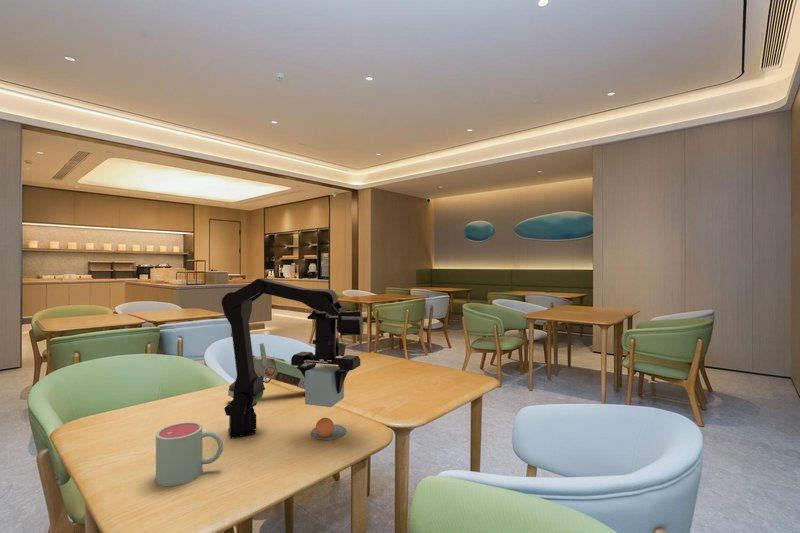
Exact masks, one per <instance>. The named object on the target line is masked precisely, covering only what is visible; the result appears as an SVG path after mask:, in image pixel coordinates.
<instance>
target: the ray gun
mask: <svg viewBox="0 0 800 533" xmlns="http://www.w3.org/2000/svg"><path fill="white" fill-rule="evenodd" d="M259 348H260V349H259V351H260V356H257V355H253V361H254V369H255V372H256V374H257V375H258V377H260V376H263V379H264V380H263V384H269V383H270V382H271V381H272V380H274V381H277V382H281V383H283V384H288V385H290V386H294V387H297V388H299V389H302V390H305V377H304V376H303V374H302V372H301V371H300V369H297V366H293V365H291V360H286V359H284V358H279V357H276V356H270V355H267V354H266V348H265V344H264V342H263V343H262V342H261V343H259ZM267 379H268V380H267ZM234 385H235V381H234V382H232V383H231V384H230V385H229V386H228V390H227V396H229V397H230V398H232V399H233V391H234Z"/></svg>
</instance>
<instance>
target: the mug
mask: <svg viewBox="0 0 800 533" xmlns="http://www.w3.org/2000/svg"><path fill="white" fill-rule="evenodd" d="M204 438H213V439H214V440H215V442H217V450H216V453H215V454H214V455H213V456H211V457H209V458H203V439H204ZM222 438H223V437H222V436H220V434H219V433H217V432H215V431H210V430H209V431H208V430H207V431H203V424H201V423H199V422H193V421H188V422H187V421H186V422H185V421H184V422H178V423H173V424H170V425H167V426H164V427H163V428H160V429H159V430H158V431H157V432H156V433H155V482H156V484H157V485H160V486H163V487H172V486H173V487H174V486H179V485H180V486H181V485H185V484H186V483H189V482H191V481H193V480H195V479H197V478H198V477H199V476H201V474H202V473H203V465H209V464H214V462H216V461H217V460H218V459H219V458H220V457H221V455H222V453H223V451H224V440H223V439H222Z"/></svg>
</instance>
